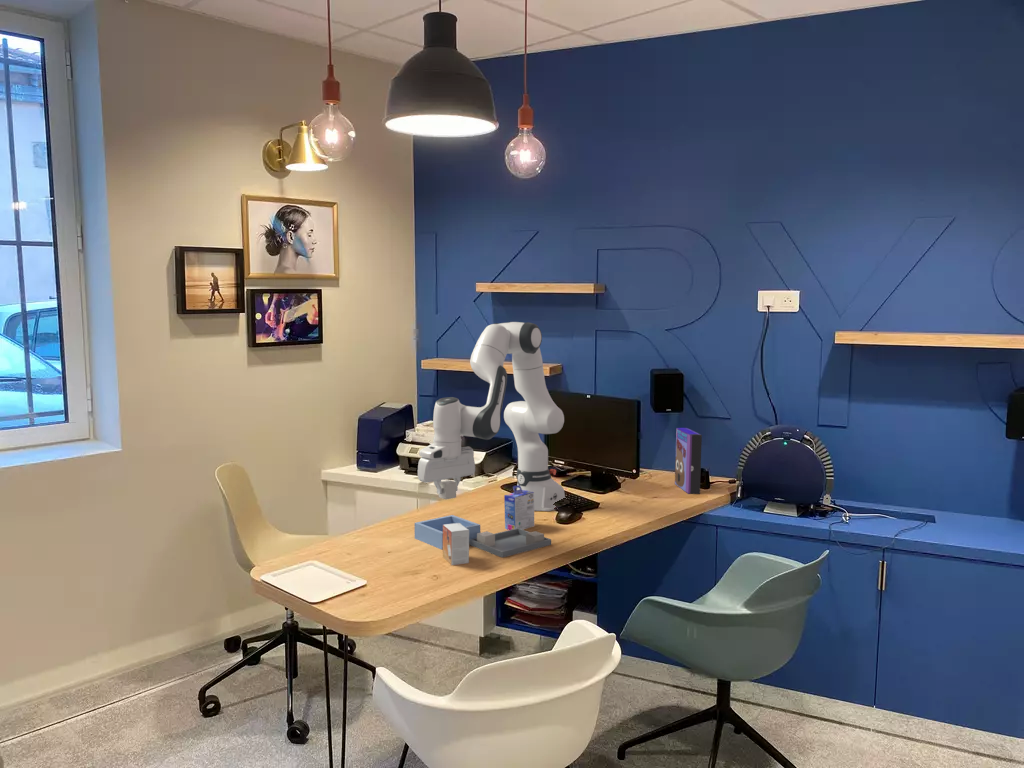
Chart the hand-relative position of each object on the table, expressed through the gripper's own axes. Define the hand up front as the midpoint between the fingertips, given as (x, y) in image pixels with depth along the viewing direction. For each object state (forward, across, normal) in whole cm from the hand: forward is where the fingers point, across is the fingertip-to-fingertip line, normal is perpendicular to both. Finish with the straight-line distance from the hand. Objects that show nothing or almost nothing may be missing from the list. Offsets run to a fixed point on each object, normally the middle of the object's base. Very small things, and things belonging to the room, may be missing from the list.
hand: (447, 492), depth 256 cm
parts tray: (+16, -12, +17) cm, 26 cm away
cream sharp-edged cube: (+15, -6, +12) cm, 20 cm away
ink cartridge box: (+16, -27, +4) cm, 32 cm away
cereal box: (+16, -118, +4) cm, 119 cm away
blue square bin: (+16, 0, 0) cm, 16 cm away
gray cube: (+15, -18, +22) cm, 32 cm away
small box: (+16, +10, +18) cm, 26 cm away
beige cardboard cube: (+2, 0, 0) cm, 2 cm away
